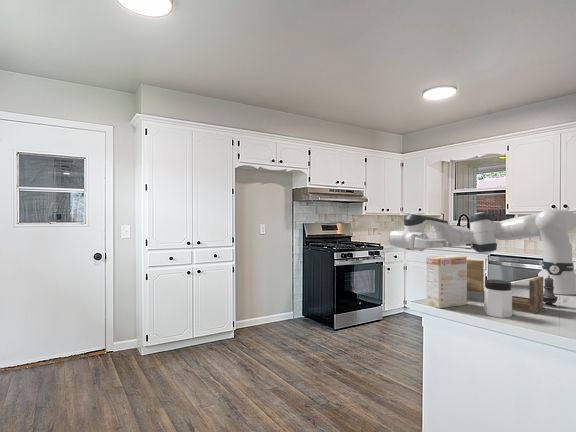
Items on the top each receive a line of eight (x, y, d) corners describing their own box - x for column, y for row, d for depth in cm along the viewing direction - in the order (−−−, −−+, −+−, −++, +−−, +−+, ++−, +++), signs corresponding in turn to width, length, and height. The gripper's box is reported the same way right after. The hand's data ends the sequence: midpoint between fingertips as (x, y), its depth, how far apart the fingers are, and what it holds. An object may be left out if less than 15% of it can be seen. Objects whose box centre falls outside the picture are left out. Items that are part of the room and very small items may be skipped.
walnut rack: (504, 301, 151) (504, 272, 151) (543, 307, 141) (543, 276, 141) (493, 306, 142) (493, 276, 142) (533, 313, 132) (533, 280, 132)
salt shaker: (561, 307, 141) (561, 276, 141) (544, 307, 142) (544, 276, 142) (553, 304, 147) (553, 274, 147) (537, 303, 148) (537, 274, 148)
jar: (514, 318, 126) (514, 284, 126) (488, 317, 128) (488, 283, 128) (506, 312, 134) (506, 279, 134) (482, 310, 136) (482, 278, 136)
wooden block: (469, 296, 160) (469, 259, 160) (483, 298, 155) (483, 260, 155) (466, 296, 158) (466, 260, 158) (481, 299, 154) (481, 261, 154)
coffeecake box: (453, 301, 152) (453, 254, 152) (467, 305, 145) (467, 256, 145) (425, 304, 146) (425, 256, 146) (439, 308, 140) (439, 257, 140)
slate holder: (465, 295, 163) (465, 287, 163) (489, 299, 156) (489, 290, 156) (458, 298, 158) (458, 289, 158) (482, 301, 151) (482, 293, 151)
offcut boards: (502, 304, 146) (502, 296, 146) (531, 309, 138) (531, 300, 138) (499, 306, 144) (499, 297, 144) (528, 310, 136) (528, 301, 136)
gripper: (429, 247, 183) (457, 251, 172) (407, 248, 169) (436, 253, 159) (430, 234, 182) (458, 238, 172) (409, 235, 169) (437, 238, 159)
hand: (447, 245), depth 165 cm, fingers open, 8 cm apart
